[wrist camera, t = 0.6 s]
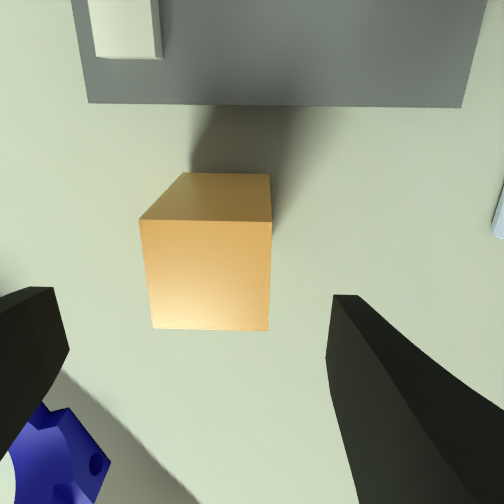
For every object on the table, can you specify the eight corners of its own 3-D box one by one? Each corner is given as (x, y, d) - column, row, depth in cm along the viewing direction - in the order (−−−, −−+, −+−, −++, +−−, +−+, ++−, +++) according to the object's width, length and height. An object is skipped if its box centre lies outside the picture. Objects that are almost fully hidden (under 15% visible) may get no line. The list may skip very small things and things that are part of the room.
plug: (269, 171, 17) (272, 222, 10) (266, 247, 18) (268, 331, 12) (185, 169, 17) (138, 219, 11) (190, 245, 19) (153, 328, 12)
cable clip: (111, 461, 27) (71, 558, 21) (60, 472, 27) (9, 568, 22) (17, 340, 22) (-65, 424, 16) (-41, 357, 23) (-138, 443, 17)
